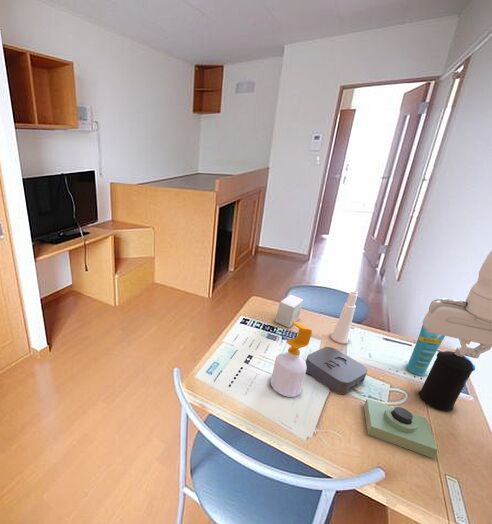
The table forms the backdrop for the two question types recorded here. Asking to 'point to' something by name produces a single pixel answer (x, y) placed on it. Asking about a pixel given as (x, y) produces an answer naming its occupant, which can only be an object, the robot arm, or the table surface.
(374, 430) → the button block
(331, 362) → the streaming box
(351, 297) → the cosmetic bottle
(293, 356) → the soap bottle
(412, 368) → the tube
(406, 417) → the dark grey button
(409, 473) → the table surface
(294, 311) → the cosmetics box
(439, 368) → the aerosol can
